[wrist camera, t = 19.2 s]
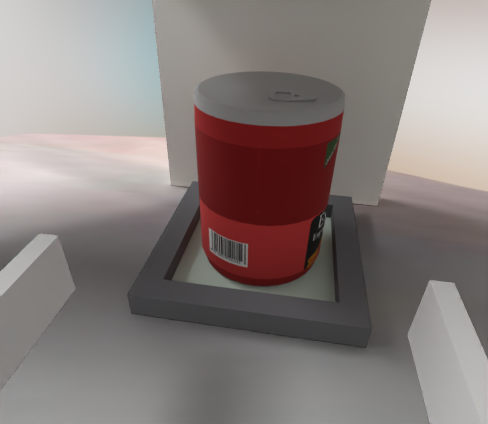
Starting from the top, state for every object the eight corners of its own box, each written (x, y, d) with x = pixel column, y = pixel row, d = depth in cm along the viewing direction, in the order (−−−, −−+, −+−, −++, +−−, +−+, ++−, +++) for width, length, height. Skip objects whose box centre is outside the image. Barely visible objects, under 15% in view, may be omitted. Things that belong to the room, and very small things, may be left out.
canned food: (333, 285, 23) (371, 110, 17) (203, 295, 22) (192, 114, 16) (302, 215, 29) (322, 69, 23) (200, 221, 28) (192, 70, 22)
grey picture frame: (365, 347, 20) (371, 328, 19) (131, 313, 21) (127, 294, 20) (348, 212, 30) (351, 196, 29) (193, 196, 32) (192, 181, 31)
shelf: (419, 372, 18) (671, -155, 8) (81, 320, 21) (-75, -145, 10) (375, 196, 32) (444, -79, 22) (176, 177, 35) (152, -82, 24)
